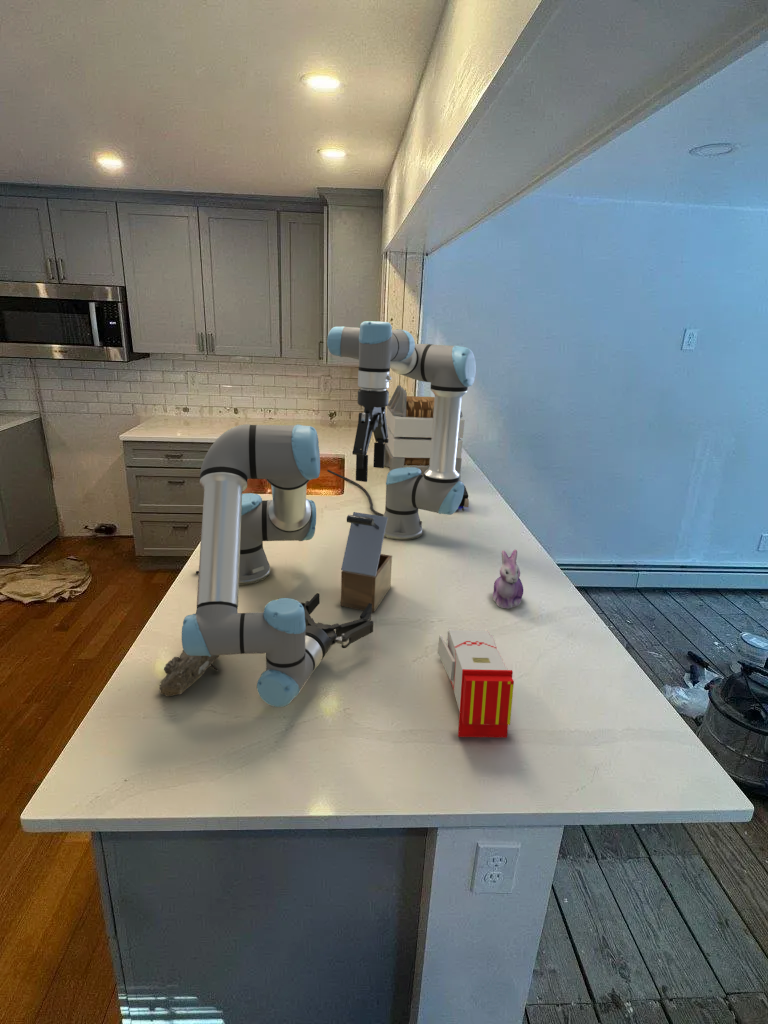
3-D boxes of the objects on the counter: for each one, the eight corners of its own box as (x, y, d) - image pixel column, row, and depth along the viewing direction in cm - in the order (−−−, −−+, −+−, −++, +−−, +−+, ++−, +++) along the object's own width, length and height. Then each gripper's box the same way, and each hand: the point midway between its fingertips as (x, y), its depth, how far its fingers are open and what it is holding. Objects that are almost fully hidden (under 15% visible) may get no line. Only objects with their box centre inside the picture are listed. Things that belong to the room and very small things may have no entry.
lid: (354, 512, 150) (344, 504, 142) (387, 517, 148) (379, 509, 139) (341, 570, 147) (331, 565, 139) (375, 576, 145) (366, 571, 136)
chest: (359, 582, 164) (360, 550, 160) (390, 587, 161) (392, 555, 158) (340, 605, 150) (341, 571, 147) (374, 612, 148) (375, 577, 144)
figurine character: (468, 516, 224) (463, 500, 237) (471, 498, 221) (465, 483, 234) (452, 515, 224) (447, 499, 237) (453, 498, 220) (449, 482, 234)
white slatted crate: (382, 463, 289) (386, 382, 275) (445, 464, 293) (451, 384, 279) (390, 482, 257) (394, 392, 243) (460, 483, 261) (468, 394, 247)
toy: (488, 613, 130) (523, 677, 101) (484, 667, 133) (517, 744, 104) (435, 612, 130) (455, 676, 101) (432, 666, 133) (451, 743, 103)
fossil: (183, 622, 131) (229, 592, 126) (212, 650, 134) (258, 621, 129) (138, 690, 111) (189, 657, 106) (173, 721, 114) (225, 691, 109)
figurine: (505, 613, 150) (512, 561, 145) (482, 596, 158) (488, 546, 153) (533, 606, 154) (540, 555, 149) (509, 589, 163) (515, 541, 158)
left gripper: (254, 652, 123) (297, 607, 143) (362, 677, 117) (392, 626, 136) (253, 622, 121) (297, 580, 140) (363, 646, 114) (393, 598, 133)
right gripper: (371, 396, 124) (368, 489, 131) (402, 384, 147) (398, 464, 154) (339, 394, 126) (338, 485, 133) (374, 382, 149) (372, 460, 156)
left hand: (344, 603), depth 138 cm, fingers open, 13 cm apart
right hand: (370, 474), depth 144 cm, fingers open, 13 cm apart
